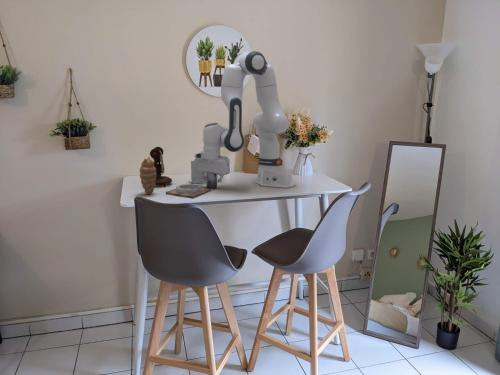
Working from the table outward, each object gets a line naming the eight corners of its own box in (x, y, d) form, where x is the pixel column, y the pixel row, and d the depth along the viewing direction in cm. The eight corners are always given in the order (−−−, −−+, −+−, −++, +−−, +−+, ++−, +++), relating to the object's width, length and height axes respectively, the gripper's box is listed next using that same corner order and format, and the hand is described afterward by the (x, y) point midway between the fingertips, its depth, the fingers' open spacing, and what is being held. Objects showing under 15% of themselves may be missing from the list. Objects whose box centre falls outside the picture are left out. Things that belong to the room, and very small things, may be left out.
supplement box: (203, 183, 216) (203, 161, 213) (190, 183, 217) (190, 160, 214) (207, 180, 223) (207, 158, 220) (195, 180, 224) (195, 158, 221)
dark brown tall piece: (169, 188, 206) (167, 149, 201) (140, 187, 206) (138, 149, 201) (174, 181, 220) (173, 145, 215) (147, 181, 220) (146, 145, 215)
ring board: (210, 191, 201) (210, 185, 200) (192, 198, 187) (192, 192, 186) (184, 187, 208) (184, 181, 207) (165, 194, 194) (165, 188, 193)
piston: (219, 187, 209) (219, 170, 207) (213, 189, 204) (213, 172, 202) (210, 186, 211) (210, 169, 209) (204, 188, 206) (204, 171, 204)
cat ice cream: (145, 191, 198) (143, 155, 194) (160, 192, 197) (158, 156, 192) (137, 195, 190) (135, 158, 185) (152, 197, 188) (151, 159, 184)
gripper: (232, 155, 202) (232, 182, 205) (198, 152, 210) (199, 177, 214) (226, 157, 196) (226, 184, 199) (192, 154, 205) (192, 180, 208)
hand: (212, 181), depth 207 cm, fingers open, 8 cm apart
